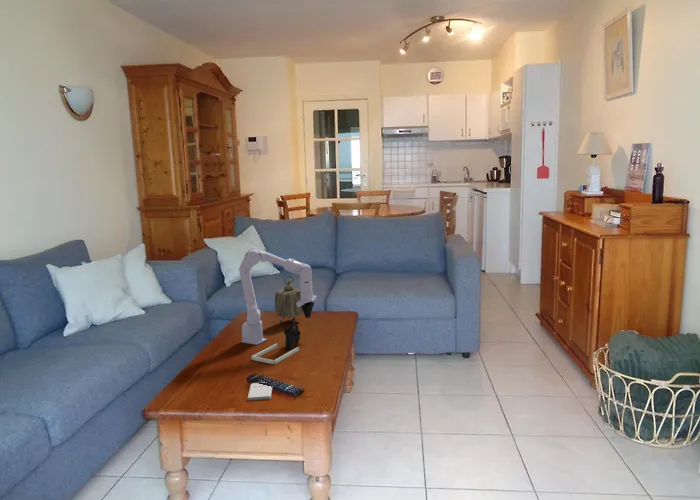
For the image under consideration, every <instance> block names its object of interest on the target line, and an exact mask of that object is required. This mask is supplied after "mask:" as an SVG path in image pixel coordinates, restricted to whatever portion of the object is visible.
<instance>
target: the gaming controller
mask: <svg viewBox="0 0 700 500" xmlns="http://www.w3.org/2000/svg"><path fill="white" fill-rule="evenodd" d="M288 325H289V326H288V327H287V328H284V329H283V334H284V335H285V343H284V344H285V345H284V346H285V349H286V351H287V350H289V351H291V350H293V349H292V348H293V347H294V346H295V344H296V342H299V341H300V339H301V330H300V329H299V326H298V324H297V323H296V322H295V323H293V322H292V323H288Z"/></svg>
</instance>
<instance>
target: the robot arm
mask: <svg viewBox="0 0 700 500" xmlns="http://www.w3.org/2000/svg"><path fill="white" fill-rule="evenodd" d="M259 262H260V263H265V262H269V263H271V264H275V265H278V266H281V267H283V269H284V271H287V272H290V273H292V274H295V275H299V278H300V280H299V286H300V288H299V289H300V291H301V299H300V300H299V301H298V302H296V303H297V306H298V307H301V308H302V309H303V315H304V316H305V317H304V318H305V319H309V318H311V316H312V310H313V309H314V305H315V301H316V300H318V295H316V294H314V293H313V291H314V290H313V279H312V278H313V277H312V276H313V269H312V267H311V266H310V265H309V264H308V263H305V262H299V261H297V260H295V258H286V259H284V258H282V257H279V256H278V255H275V254H272V253H270V252H268V251H265V250H262V249H258V248H255V247H254V248H250V249H248V250H247V251H246V253H245V254H244V256H243V259H242V261H241V263H240V265H239V269H238V271H239V276H240V280H241V281H240V282H241V286H242V290H243V294H244V300H245V304H246V313H247V316H246V321H245V322H244V323H242V326H241V339H242V340H241V341H240V342H241V343H244V344H249V345H255V346H256V345H259V344H262V343H263V342H265V341H267V340H268V339H267V338H264V335H263V321H262V320H261V315H262V313H261V310H260V309H259V307H258V302H257V301H256V300H257V299H256V295H255V290H254V285H253V281H252V276H251V270H252V268H253V267H255V266H256V265H257V264H258V263H259Z"/></svg>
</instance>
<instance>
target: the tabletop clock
mask: <svg viewBox="0 0 700 500" xmlns="http://www.w3.org/2000/svg"><path fill="white" fill-rule="evenodd" d="M288 278H291V279H292V280H291V281H289V280H288V281H287V282H286V280H287V279H288ZM283 282H284V284H285V286H284V287H283V288H281V289H279V290H277V291H276V292H275V294H274V309H275V315H276V316H277V317H280V318H281V317H282V319H281V320H280V321H279V324H280V325H282V324H283V321H284V319H285V318H286V319H292V324H293V323H296V322H297V321H296V318H297V317H298V316H300V315H301V314H304V312H303V309H302V308H301V307H298V306H297V303H296V302H298V301H299V300H300V299H301V291H300V288H296V287H294V285H293V284H292V283H293V282H294V276H292V275H288V276H286V277H284V281H283Z"/></svg>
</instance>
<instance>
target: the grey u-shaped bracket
mask: <svg viewBox="0 0 700 500" xmlns="http://www.w3.org/2000/svg"><path fill="white" fill-rule="evenodd" d="M277 348H279V343H275V344H272V345H270V346H268V347H267V348H264V349H263V350H261V351H259V352H257V353H255V354H253V355H251V356H250V359H251V360H252V361H256V362H262V363H267V364H270V365H277V364H278V363H280V362H282V361H283V360H285V359H287V358H289V357H291V356H292V355H294V354H296V353H297V352H300V347H298V346H297V347H295V348H293V349H291V350H289V351H288V352H287V353H284V354H283V355H281V356H279V357H277V358H275V359H269V358H264V357H261V356H263V355H265V354H268V353H269V352H271V351H273V350H275V349H277Z"/></svg>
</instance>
